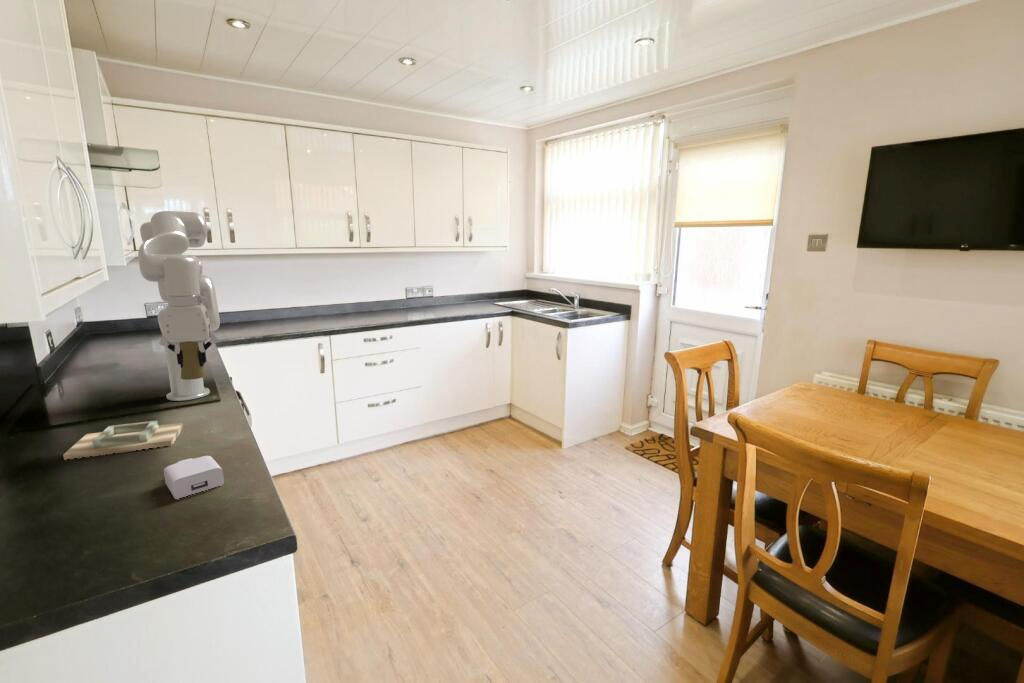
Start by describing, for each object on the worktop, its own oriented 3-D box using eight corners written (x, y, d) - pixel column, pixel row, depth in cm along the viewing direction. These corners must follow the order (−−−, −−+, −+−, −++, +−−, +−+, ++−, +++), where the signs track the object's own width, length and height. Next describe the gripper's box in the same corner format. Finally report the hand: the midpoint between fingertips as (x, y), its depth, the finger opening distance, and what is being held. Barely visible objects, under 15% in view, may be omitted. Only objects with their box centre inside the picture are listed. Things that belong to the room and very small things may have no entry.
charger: (206, 464, 114) (224, 486, 104) (160, 477, 107) (174, 501, 97) (204, 446, 113) (222, 466, 103) (157, 458, 107) (171, 480, 96)
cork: (202, 372, 136) (197, 335, 134) (209, 376, 133) (205, 338, 130) (177, 376, 132) (172, 338, 129) (185, 380, 128) (179, 341, 126)
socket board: (87, 439, 127) (85, 426, 126) (183, 427, 136) (182, 416, 135) (64, 460, 115) (61, 446, 114) (171, 445, 123) (169, 433, 123)
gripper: (221, 299, 134) (228, 360, 138) (151, 301, 128) (160, 365, 131) (217, 302, 128) (225, 366, 132) (143, 304, 121) (153, 372, 125)
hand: (192, 365), depth 131 cm, fingers closed on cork, 3 cm apart
